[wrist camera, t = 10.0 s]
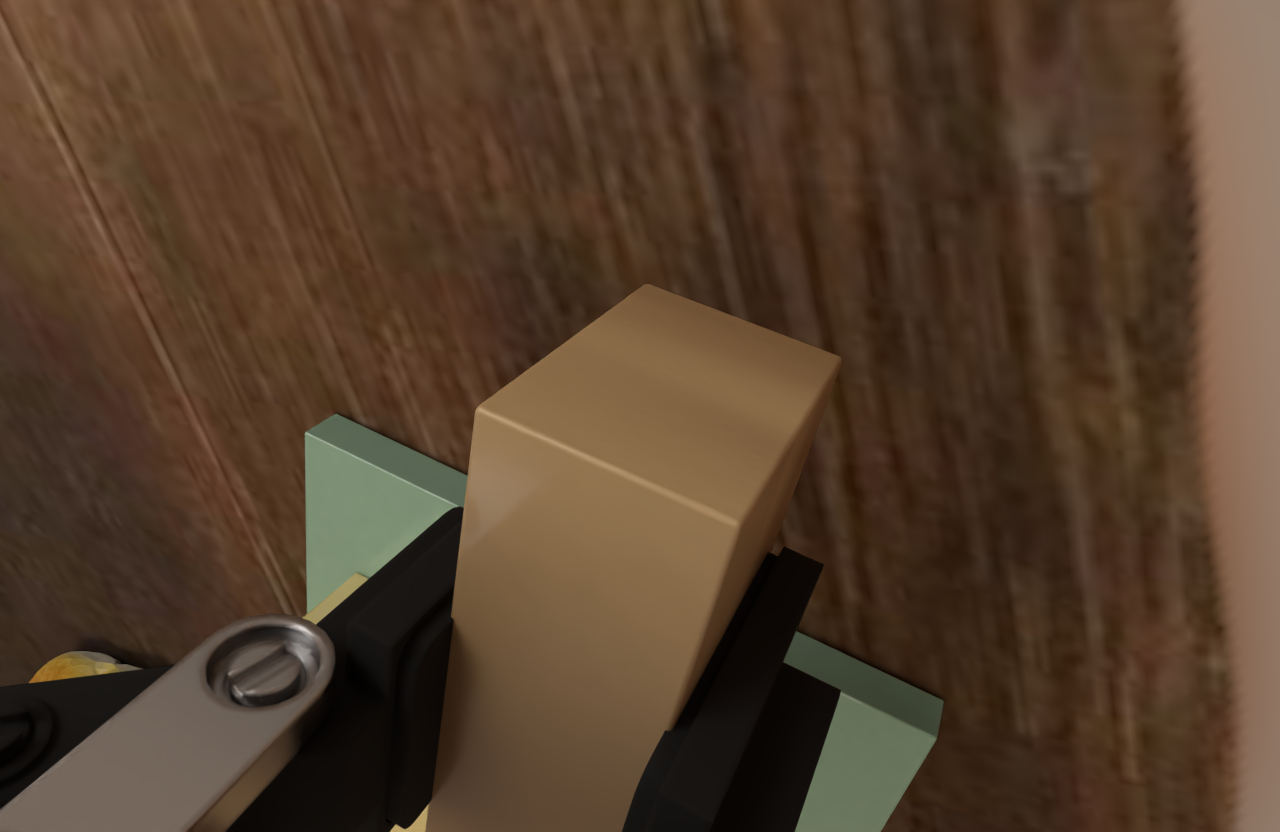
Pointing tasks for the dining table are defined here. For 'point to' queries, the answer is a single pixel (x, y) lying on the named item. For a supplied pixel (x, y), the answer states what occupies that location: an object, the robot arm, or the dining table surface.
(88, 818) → the robot arm
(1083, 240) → the dining table surface
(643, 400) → the wooden handled knife
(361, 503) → the butter dish
